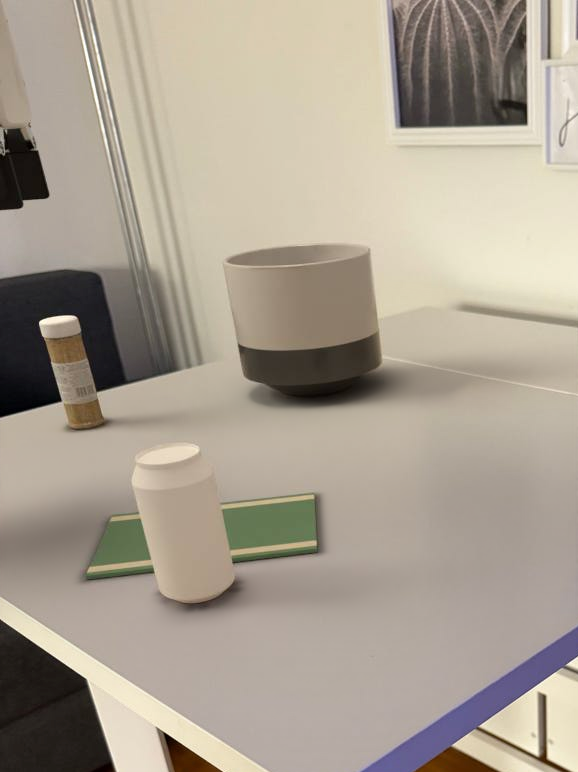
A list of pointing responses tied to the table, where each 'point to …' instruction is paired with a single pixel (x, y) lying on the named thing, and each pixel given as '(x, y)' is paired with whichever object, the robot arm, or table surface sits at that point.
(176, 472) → the beverage can
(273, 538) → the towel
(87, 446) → the table surface
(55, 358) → the sprinkles bottle
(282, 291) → the planter
